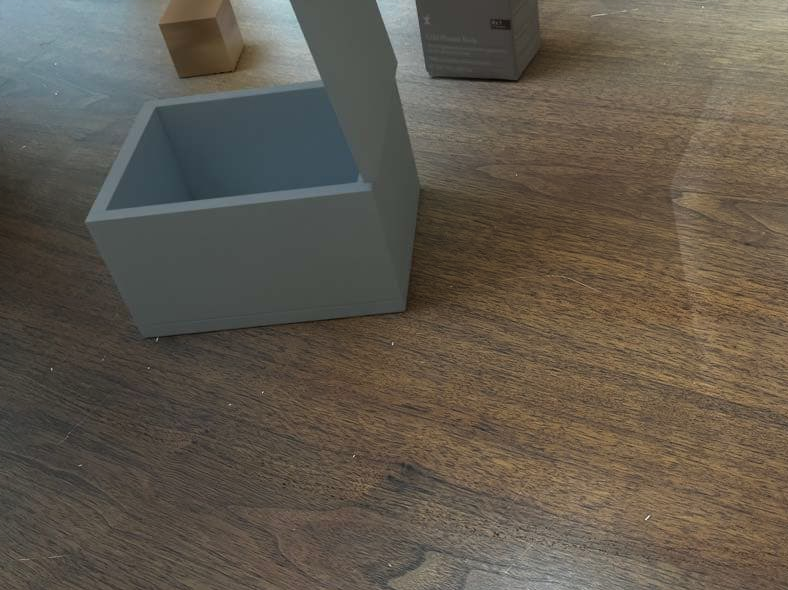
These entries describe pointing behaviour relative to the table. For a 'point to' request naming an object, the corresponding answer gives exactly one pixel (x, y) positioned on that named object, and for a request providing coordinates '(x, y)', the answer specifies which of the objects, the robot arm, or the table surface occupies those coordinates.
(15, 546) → the table surface
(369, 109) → the lid
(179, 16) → the block
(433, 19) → the cosmetic box
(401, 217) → the compartment
